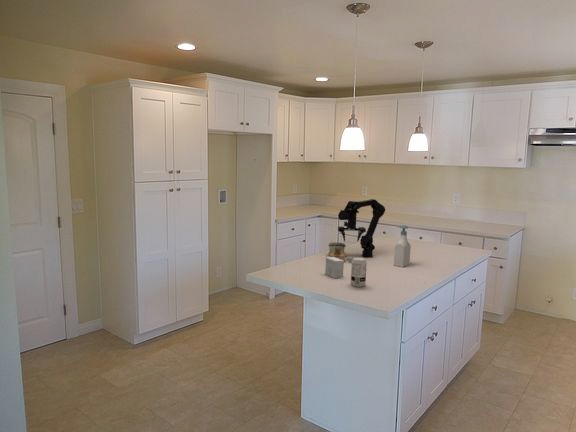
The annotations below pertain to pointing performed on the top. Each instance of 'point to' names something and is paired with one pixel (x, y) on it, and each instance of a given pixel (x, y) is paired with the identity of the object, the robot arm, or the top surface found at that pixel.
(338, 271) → the skincare box
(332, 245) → the food container
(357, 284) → the supplement can
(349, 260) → the rubber mat
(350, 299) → the top surface
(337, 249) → the walnut lid
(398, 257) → the soap bottle
